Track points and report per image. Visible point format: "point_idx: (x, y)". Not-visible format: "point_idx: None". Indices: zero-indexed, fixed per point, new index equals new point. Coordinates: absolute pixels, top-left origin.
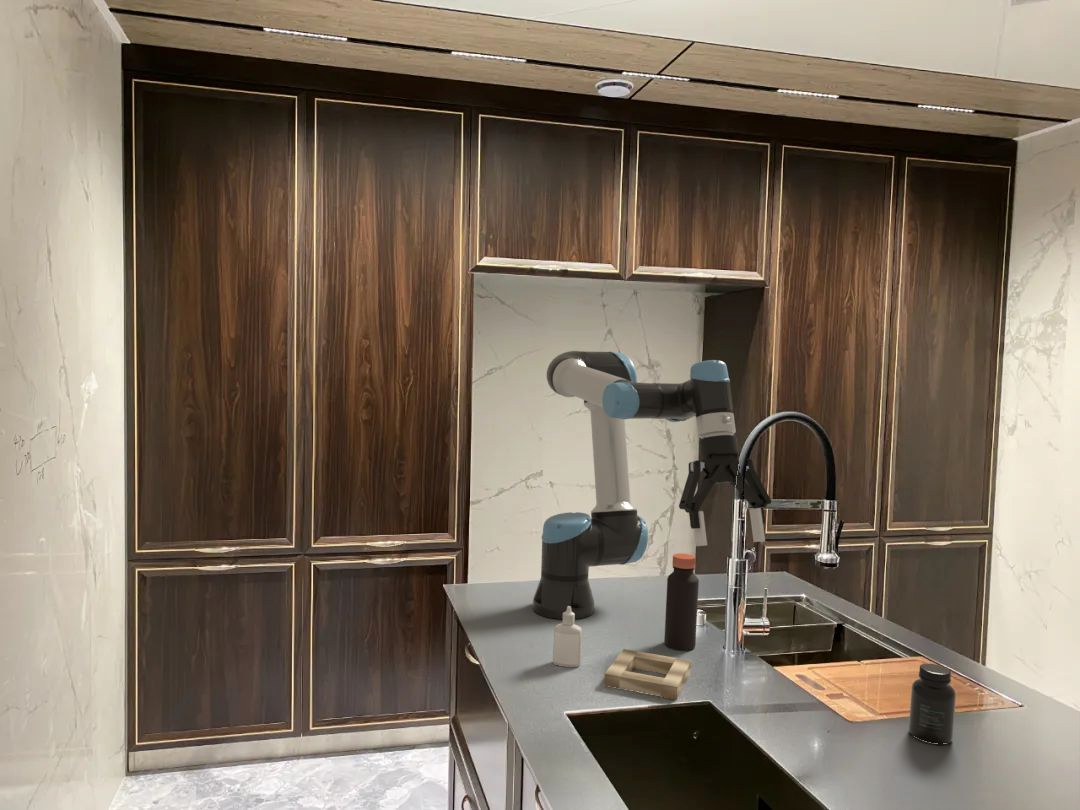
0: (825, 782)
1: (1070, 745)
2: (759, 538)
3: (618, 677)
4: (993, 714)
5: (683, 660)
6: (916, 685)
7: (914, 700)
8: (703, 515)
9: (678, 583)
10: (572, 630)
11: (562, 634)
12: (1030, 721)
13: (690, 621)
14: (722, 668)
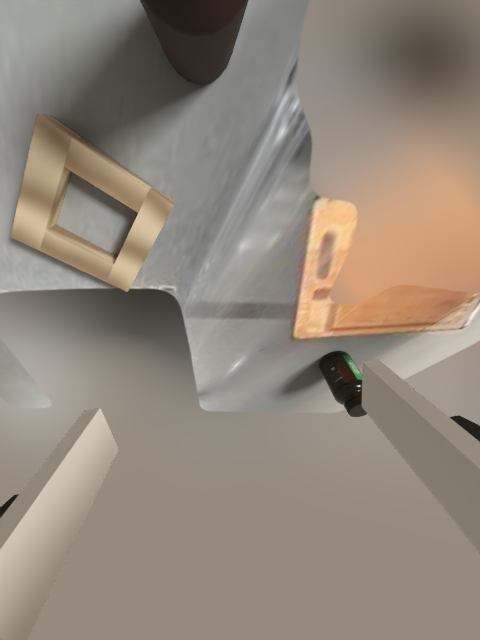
0: (212, 398)
1: (411, 375)
2: (367, 403)
3: (38, 249)
4: (420, 338)
5: (159, 203)
6: (339, 394)
7: (331, 385)
8: (40, 608)
9: (149, 8)
10: None
11: None
12: (432, 349)
13: (207, 69)
14: (234, 192)
